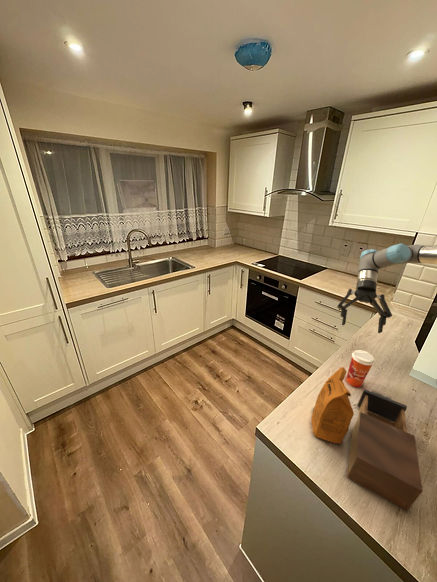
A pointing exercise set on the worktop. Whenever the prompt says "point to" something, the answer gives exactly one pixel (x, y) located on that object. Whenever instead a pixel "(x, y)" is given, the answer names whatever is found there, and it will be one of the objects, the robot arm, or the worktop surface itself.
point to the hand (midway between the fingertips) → (361, 328)
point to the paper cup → (359, 367)
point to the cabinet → (385, 461)
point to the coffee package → (332, 409)
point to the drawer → (383, 408)
